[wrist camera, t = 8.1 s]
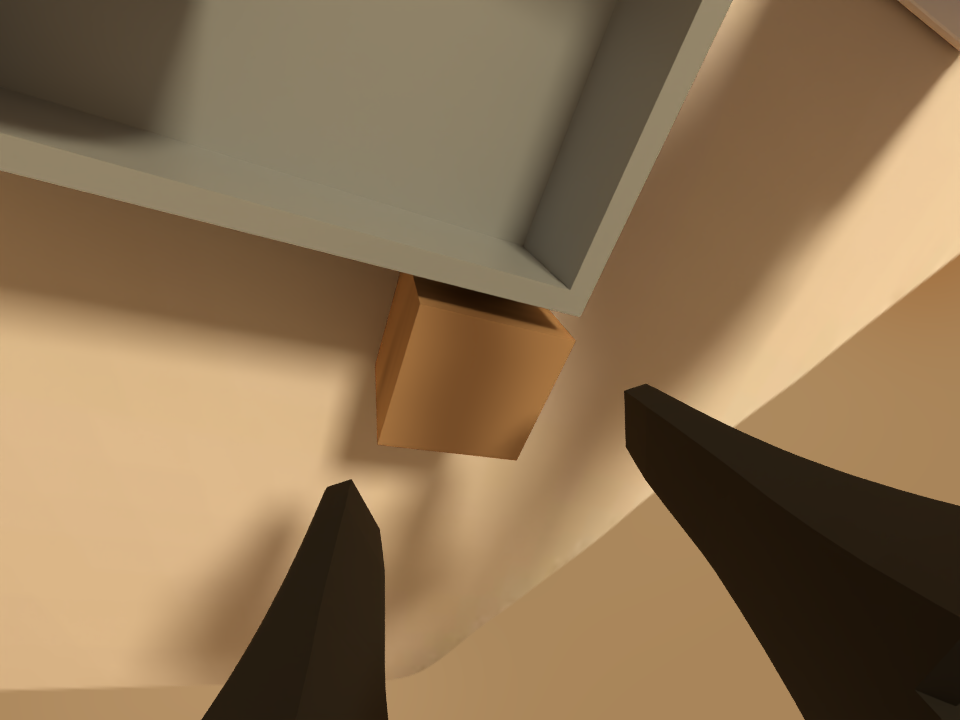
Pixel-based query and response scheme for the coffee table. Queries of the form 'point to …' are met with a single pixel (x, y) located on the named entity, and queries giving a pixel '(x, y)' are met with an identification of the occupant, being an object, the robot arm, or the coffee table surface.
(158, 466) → the coffee table surface
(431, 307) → the walnut cube
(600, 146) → the slate tote
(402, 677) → the coffee table surface
